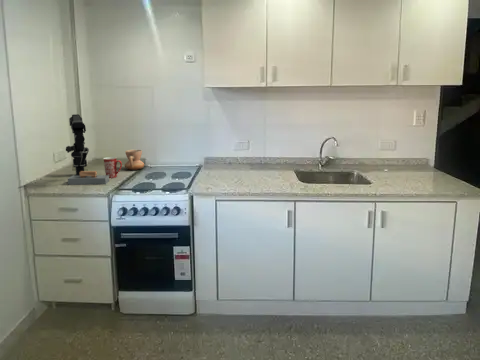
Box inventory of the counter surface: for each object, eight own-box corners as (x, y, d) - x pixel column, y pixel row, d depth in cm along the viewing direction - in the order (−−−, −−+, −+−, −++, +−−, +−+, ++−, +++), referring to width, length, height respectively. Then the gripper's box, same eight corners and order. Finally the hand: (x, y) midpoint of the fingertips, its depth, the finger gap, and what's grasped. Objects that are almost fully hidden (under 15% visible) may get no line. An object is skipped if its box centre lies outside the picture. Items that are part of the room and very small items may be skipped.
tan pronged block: (81, 180, 294) (81, 171, 292) (97, 180, 294) (96, 171, 293) (80, 182, 290) (79, 172, 289) (95, 181, 291) (94, 172, 289)
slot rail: (72, 181, 296) (72, 175, 295) (109, 181, 297) (108, 175, 296) (68, 184, 288) (67, 178, 287) (105, 184, 288) (105, 178, 287)
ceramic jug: (128, 166, 345) (127, 148, 342) (147, 167, 344) (146, 148, 341) (120, 171, 328) (119, 152, 325) (140, 171, 327) (139, 152, 323)
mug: (102, 178, 306) (100, 158, 303) (108, 175, 315) (107, 156, 312) (119, 178, 304) (118, 159, 301) (125, 176, 313) (123, 157, 310)
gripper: (71, 139, 297) (73, 162, 301) (61, 143, 279) (63, 168, 283) (88, 139, 298) (89, 161, 302) (79, 143, 280) (81, 167, 283)
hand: (81, 164), depth 292 cm, fingers open, 9 cm apart
